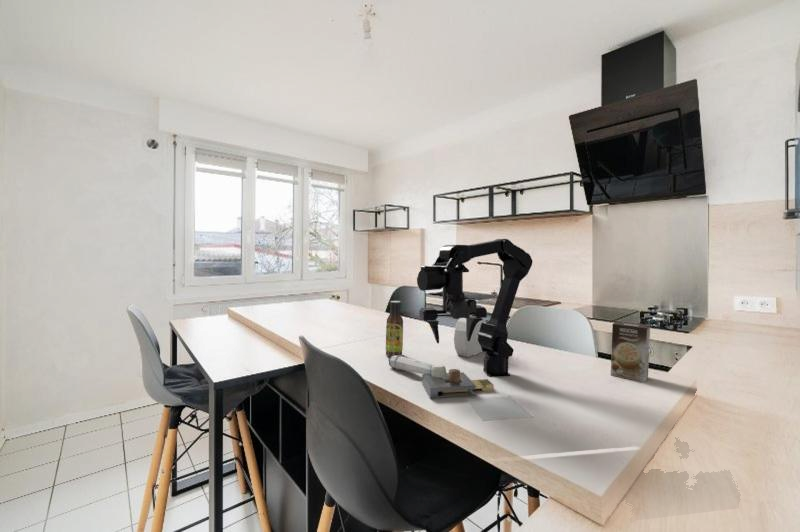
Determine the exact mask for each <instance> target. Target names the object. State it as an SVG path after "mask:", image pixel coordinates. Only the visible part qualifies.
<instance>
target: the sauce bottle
mask: <svg viewBox="0 0 800 532" xmlns="http://www.w3.org/2000/svg"><path fill="white" fill-rule="evenodd" d="M389 301H390V302H389V315H388V317H387V318H386V325H385V327H386V328H385V355H386V356H387V357H389V358H390V357H391V356H394V355H396V356H400V355H402V356H403V346H404V343H403V342H404V319H403V317H402V315H401V306H402V302H401V300H389Z"/></svg>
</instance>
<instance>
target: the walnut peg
mask: <svg viewBox="0 0 800 532" xmlns="http://www.w3.org/2000/svg"><path fill="white" fill-rule="evenodd" d="M460 372H461V370H460V369H458V368H451V369H449V370H448V373H449V383H451V382H460Z"/></svg>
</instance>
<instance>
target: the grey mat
mask: <svg viewBox="0 0 800 532" xmlns="http://www.w3.org/2000/svg"><path fill="white" fill-rule="evenodd" d="M465 400H466V401H467V402H468V404H469V405H470V406H471V408H473V410H474V411H475V413H476V414H477V415H478V416H479V417H480V419H481V420H482V421H483V422H484V421H495V420H497V421H498V420H499V421H500V420H511V419H526V418H527V419H528V418H534V416H533V414H531V413H530V412H529V411H528V410H527V409H526V408H524V406H522V404H520V403H519V402H518V401H517V400H516V399H515V398H514V397H512V396H511V395H506V396H503V395H501V396H500V395H498V396H485V397H483V396H482V397H465Z"/></svg>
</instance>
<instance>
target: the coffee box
mask: <svg viewBox="0 0 800 532" xmlns="http://www.w3.org/2000/svg"><path fill="white" fill-rule="evenodd" d="M611 329H612V330H611V331H612V332H611V352H610V353H611V354H610V355H611V356H610V357H611V359H610V376H613V377H618V378H623V379H627V380H632V381H636V382H641V383H645V382H646V381H647V380H648V378H649V363H650V340H651V339H650V338H651V337H650V336H651V325H650V324H645V323H635V322H628V321H621V320H616V321H614V322H613V323H612V328H611Z"/></svg>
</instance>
